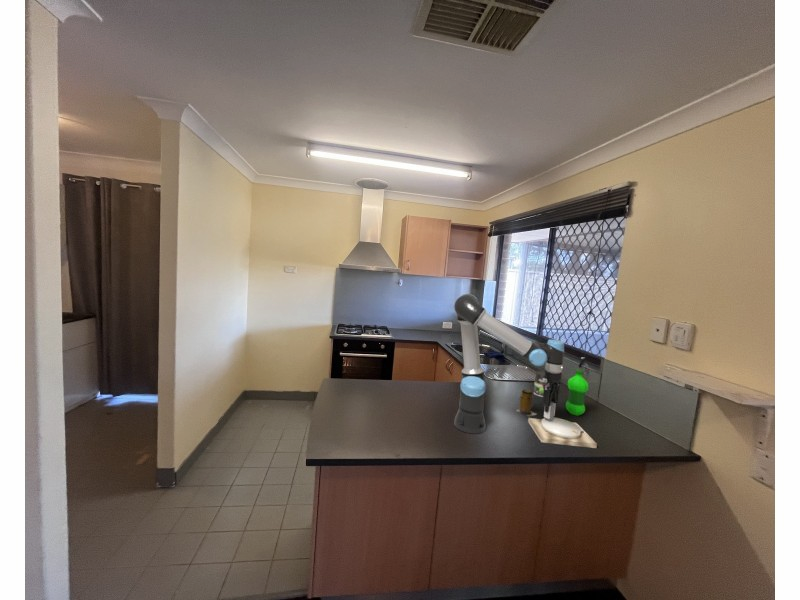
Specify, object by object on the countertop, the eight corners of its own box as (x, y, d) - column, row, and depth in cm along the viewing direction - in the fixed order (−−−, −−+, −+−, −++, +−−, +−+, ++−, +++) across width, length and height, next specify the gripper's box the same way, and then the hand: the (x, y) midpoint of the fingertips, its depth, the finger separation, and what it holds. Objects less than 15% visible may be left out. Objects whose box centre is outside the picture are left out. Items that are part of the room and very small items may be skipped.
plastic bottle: (564, 414, 174) (569, 371, 171) (564, 407, 183) (569, 366, 181) (585, 419, 169) (590, 374, 167) (584, 412, 178) (589, 369, 176)
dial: (566, 442, 140) (569, 418, 139) (533, 424, 154) (535, 403, 153) (587, 434, 148) (590, 411, 147) (554, 418, 163) (557, 398, 162)
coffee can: (551, 398, 196) (554, 376, 195) (534, 395, 199) (536, 374, 198) (549, 392, 206) (551, 372, 205) (532, 390, 209) (534, 369, 208)
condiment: (524, 408, 179) (526, 388, 178) (537, 414, 172) (539, 393, 171) (515, 410, 176) (517, 389, 175) (528, 417, 168) (530, 395, 167)
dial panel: (541, 442, 143) (542, 437, 143) (528, 421, 163) (528, 417, 162) (596, 448, 141) (597, 443, 140) (576, 426, 160) (576, 422, 160)
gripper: (552, 376, 146) (548, 424, 148) (569, 370, 157) (564, 414, 159) (537, 372, 152) (533, 418, 154) (553, 366, 162) (549, 409, 165)
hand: (549, 416), depth 156 cm, fingers open, 4 cm apart
